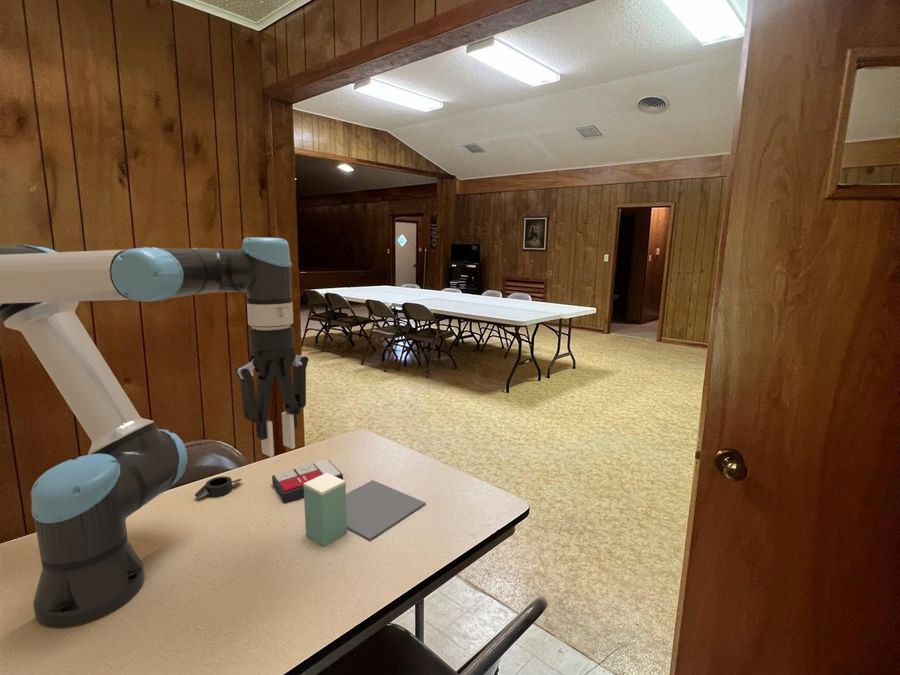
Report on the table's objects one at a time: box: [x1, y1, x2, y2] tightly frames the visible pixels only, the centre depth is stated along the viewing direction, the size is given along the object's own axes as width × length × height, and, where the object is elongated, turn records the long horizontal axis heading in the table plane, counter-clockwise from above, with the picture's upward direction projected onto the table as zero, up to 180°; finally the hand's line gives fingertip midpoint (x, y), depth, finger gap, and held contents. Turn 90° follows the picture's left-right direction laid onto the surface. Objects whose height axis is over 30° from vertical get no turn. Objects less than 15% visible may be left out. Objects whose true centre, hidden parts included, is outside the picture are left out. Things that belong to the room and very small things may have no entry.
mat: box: [346, 479, 427, 542], centre depth 109 cm, size 18×18×1 cm
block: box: [303, 473, 348, 548], centre depth 98 cm, size 6×6×12 cm
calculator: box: [271, 458, 344, 504], centre depth 119 cm, size 11×4×15 cm
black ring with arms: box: [194, 475, 243, 499], centre depth 115 cm, size 8×10×3 cm
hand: (278, 449), depth 87 cm, fingers open, 4 cm apart
